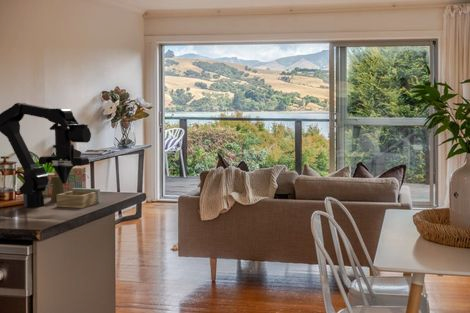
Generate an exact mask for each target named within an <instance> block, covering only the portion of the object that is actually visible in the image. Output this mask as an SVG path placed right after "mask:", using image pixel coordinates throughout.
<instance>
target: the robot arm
mask: <svg viewBox="0 0 470 313" xmlns="http://www.w3.org/2000/svg"><path fill="white" fill-rule="evenodd" d="M25 115H27V116H33V117H37V118H42V119H43V118H44V119H46V120H47V121H49V122H51V123H53V124H52V125H51V126H50V127H49V131H54V143H55V144H54V145H52V149H55V155H43V156H39V158H38V165H46V164H52V165H51V168H53V170H54V169H55V171H56V172H57V174H58V176H59V178H60V180H61V181H62V183H63V184H66V182H67V179H68V176H69V173H70V171H71V169H72V168H73V167H75V166H79V167H84V166H87V165H90V159H89V158H88V156H87V157H86V156H82V151H80V150H78V149H76V148H75V146H74V144H72V143H82V144H83V143H85V144H86V143H87V144H88V143H89V142H90V141H91V138H92V132H91V130H90V128H89V125H88V123H81V124H79V122H78V121H77V119H76V118H75V116H74V113H73V110H71V109H70V108H67V107H66V108H50V107H44V106H39V105H38V106H37V105H33V104H29V103H28V104H27V103H26V102H16V103H14V104H13V105H12V106H11V107H9V108H7V109H6V110H3V111H2V112H1V113H0V133H1V134H2V135H3V136H5V137H6V138H7V140H8V142H9V143H10V146H11V147H12V150H13V152H14V154H15V156H16V158H17V160H18V162H19V163H20V166H21V168H22V170H23V181H24V183H23V184H22V185H21V186H20V187H19V188H18V189H19V192H20V195H22V197H23V207H24V208H27V209H35V208H40V207H44V206H45V195H43V194H42V191H45V188H46V186H47V184H48V181H49V180H48V177H47V176H48V174H47V173H48V172H46V169H45V167H44V166H38V165H37V164H36V162H35V160H34V158H33V155H32V154H31V152H30V150H29V148H28V146H27V145H26V142H25V140H24V139H23V138H24V137H23V136H22V134H21V125H20V122H21V121H22V120H23V119H24V116H25Z"/></svg>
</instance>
